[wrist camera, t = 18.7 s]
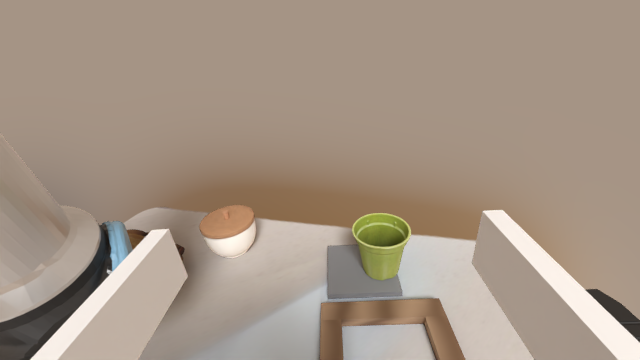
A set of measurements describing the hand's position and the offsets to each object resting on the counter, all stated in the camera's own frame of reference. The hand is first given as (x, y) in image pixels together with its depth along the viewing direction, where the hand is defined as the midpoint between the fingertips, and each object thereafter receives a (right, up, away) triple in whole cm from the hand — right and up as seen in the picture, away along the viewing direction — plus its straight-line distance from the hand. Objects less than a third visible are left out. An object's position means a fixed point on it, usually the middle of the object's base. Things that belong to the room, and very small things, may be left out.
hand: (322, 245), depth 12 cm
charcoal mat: (+7, -14, +39) cm, 42 cm away
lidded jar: (-18, -12, +48) cm, 52 cm away
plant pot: (+11, -13, +37) cm, 41 cm away
